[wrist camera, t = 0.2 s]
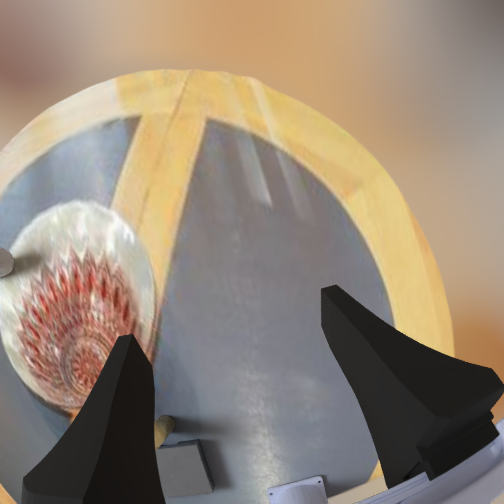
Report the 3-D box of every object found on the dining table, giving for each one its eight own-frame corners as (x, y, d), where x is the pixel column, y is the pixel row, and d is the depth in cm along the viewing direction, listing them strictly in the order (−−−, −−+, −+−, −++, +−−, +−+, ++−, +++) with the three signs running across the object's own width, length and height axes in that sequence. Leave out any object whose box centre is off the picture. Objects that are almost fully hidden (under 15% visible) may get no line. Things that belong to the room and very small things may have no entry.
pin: (177, 430, 39) (162, 450, 31) (160, 432, 38) (142, 451, 31) (172, 413, 39) (156, 430, 31) (155, 416, 39) (135, 432, 31)
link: (214, 485, 37) (212, 492, 34) (127, 491, 36) (122, 497, 33) (199, 439, 38) (196, 444, 36) (110, 447, 38) (104, 452, 35)
